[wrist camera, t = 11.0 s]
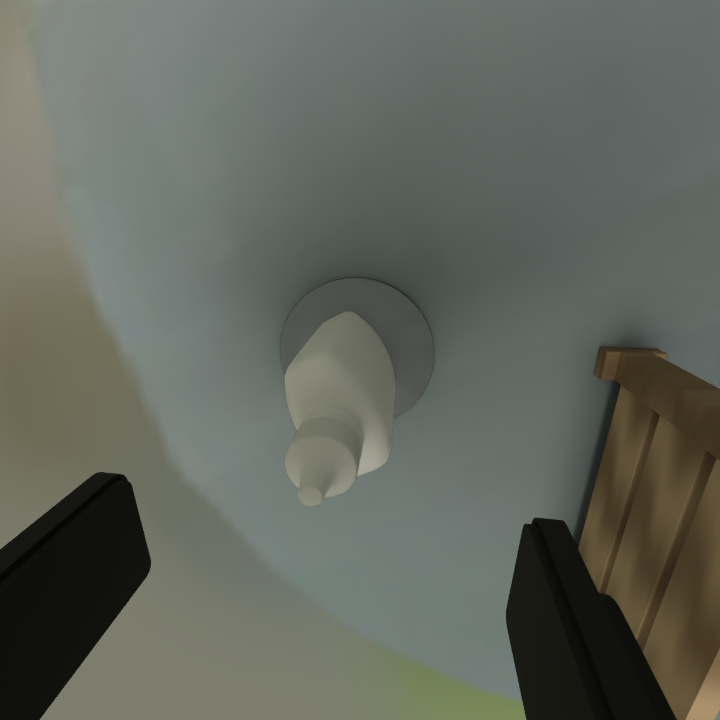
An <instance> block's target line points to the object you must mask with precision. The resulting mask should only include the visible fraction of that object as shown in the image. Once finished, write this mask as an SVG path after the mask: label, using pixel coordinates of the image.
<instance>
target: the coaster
mask: <svg viewBox="0 0 720 720" xmlns="http://www.w3.org/2000/svg"><path fill="white" fill-rule="evenodd" d="M348 311H351V312H353V313H356V314H357V315H359V316H360V317H361V318H362V319H364V320H365V321H366V322H367V323H368V324H369V325H370V326H371V327H372V328H373V330H374V331H375V332H376V333H377V335H378V336H379V337H380V339H381V340H382V342H383V344H384V345H385V347H386V349H387V352H388V354H389V356H390V359H391V362H392V366H393V370H394V376H395V400H394V415H393V418H395V417H397V416H399V415H401V414H402V413H404V412H405V411H407V410H408V409H409V408H410V407H411V406H412V405H414V404H415V403H416V401H417V400H418V399H419V398H420V397H421V395H422V394H423V392H424V391H425V389H426V387H427V385H428V383H429V381H430V378H431V374H432V371H433V365H434V346H433V339H432V336H431V332H430V328H429V326H428V324H427V322H426V319H425V318H424V316H423V314H422V313H421V311H420V310H419V309H418V307H417V306H416V305H415V304H414V302H413V301H411V300H410V299H409V298H408V297H407V296H406V295H405V294H403V293H402V292H401V291H399V290H398V289H396V288H394V287H392V286H390V285H388V284H386V283H383V282H380V281H377V280H373V279H369V278H359V277H353V278H343V279H337V280H334V281H331V282H328V283H325V284H323V285H321V286H319V287H317V288H316V289H314V290H313V291H311V292H310V293H308V294H307V295H306V296H305V297H304V298H303V299H301V300H300V301H299V302H298V304H297V305H296V306H295V307H294V308H293V310H292V311H291V313H290V314H289V316H288V318H287V320H286V322H285V325H284V327H283V331H282V334H281V341H280V358H281V364H282V368H283V372H284V374H286V370H287V368H288V366H289V365H290V364H291V362H292V361H293V359H294V358H295V357H296V356H297V354H298V353H299V352H300V350H301V349H302V348H303V347H304V345H305V344H306V343H307V342H308V340H309V339H310V338H311V337H312V335H313V334H314V333H315V332H316V331H317V329H318V328H319V327H320V326H321V325H322V324H323V323H324V322H326V321H327V320H329V319H331V318H333V317H335V316H337V315H339V314H341V313H343V312H348Z"/></svg>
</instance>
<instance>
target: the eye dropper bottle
mask: <svg viewBox="0 0 720 720" xmlns="http://www.w3.org/2000/svg"><path fill="white" fill-rule="evenodd" d="M285 391H286V398H287V403H288V407H289V411H290V414H291V417H292V420H293V422H294V425H295V427H296V429H297V432H296V434H295V436H294V438H293V440H292V442H291V444H290V445H289V447H288V449H287V452H286V456H285V460H284V461H285V468H286V471H287V474H288V476H289V478H290V480H291V481H292V482H293V483H294V484H295V485H296V486H297V487H298V488H299V499H300V501H301V502H302V503H303V504H305V505H307V506H317V505H319V504H320V503H321V501H322V500H323V498H324V497H331V496H337V495H339V494H341V493H343V492H345V491H346V490H348V489H349V488H350V487H351V485H353V483H354V482H355V479H356V478H357V476H359V475H362V474H365V473H368V472H370V471H373V470H375V469H377V468H379V467H381V466H382V465H383V464H384V463H386V461H387V459H388V457H389V454H390V449H391V440H392V428H393V415H394V400H395V376H394V370H393V366H392V362H391V359H390V356H389V354H388V352H387V349H386V347H385V345H384V344H383V342H382V340H381V339H380V337H379V336H378V335H377V333H376V332H375V331H374V330H373V328H372V327H371V326H370V325H369V324H368V323H367V322H366V321H365V320H364V319H362V318H361V317H360V316H359V315H357V314H356V313H353V312H351V311H348V312H343V313H341V314H339V315H337V316H335V317H333V318H331V319H329V320H327V321H326V322H324V323H323V324H322V325H321V326H320V327H319V328H318V329H317V331H316V332H315V333H314V334H313V335H312V337H311V338H310V339H309V340H308V342H307V343H306V344H305V345H304V347H303V348H302V349H301V350H300V352H299V353H298V354H297V356H296V357H295V358H294V359H293V361H292V362H291V364H290V365H289V366H288V368H287V370H286V374H285Z"/></svg>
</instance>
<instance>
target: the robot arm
mask: <svg viewBox="0 0 720 720" xmlns="http://www.w3.org/2000/svg"><path fill="white" fill-rule="evenodd" d="M150 567H151V559H150V555H149V551H148V547H147V543H146V539H145V535H144V531H143V527H142V524H141V520H140V516H139V512H138V508H137V504H136V500H135V496H134V492H133V488H132V485H131V483H130V482H128V481H127V478H126V477H125V476H124V475H121V474H113V473H104V472H99V473H96V474H94V475H92V476H91V477H90V478H89V479H87V480H86V481H85V482H84V483H82V484H81V485H80V486H79V487H78V488H76V489H75V490H74V491H73V492H71V493H70V494H69V495H68V496H66V497H65V498H64V499H62V500H61V501H60V502H59V503H58V504H56V505H55V506H54V507H53V508H51V509H50V510H49V511H48V512H46V513H45V514H44V515H43V516H41V517H40V518H39V519H38V520H37V521H35V522H34V523H33V524H31V525H30V526H29V527H28V528H26V529H25V530H24V531H23V532H21V533H20V534H19V535H18V536H17V537H15V538H14V539H13V540H12V541H10V542H9V543H8V544H6V545H5V546H4V547H3V548H2V549H0V720H40V718H41V717H42V716H43V714H44V713H45V712H46V710H47V709H48V708H49V706H50V705H51V704H52V702H53V701H54V700H55V698H56V697H57V696H58V694H59V693H60V692H61V690H62V689H63V688H64V686H65V685H66V684H67V682H68V681H69V680H70V678H71V677H72V676H73V674H74V673H75V672H76V670H77V669H78V668H79V666H80V665H81V664H82V662H83V661H84V660H85V658H86V657H87V656H88V654H89V653H90V651H91V650H92V649H93V648H94V646H95V645H96V644H97V642H98V641H99V640H100V638H101V637H102V636H103V634H104V633H105V632H106V630H107V629H108V628H109V626H110V625H111V624H112V622H113V621H114V620H115V618H116V617H117V615H118V614H119V613H120V612H121V610H122V609H123V607H124V606H125V605H126V603H127V602H128V601H129V599H130V598H131V597H132V595H133V594H134V593H135V591H136V590H137V589H138V587H139V586H140V585H141V584H142V582H143V581H144V580H145V578H146V577H147V575H148V573H149V571H150ZM506 623H507V630H508V634H509V639H510V644H511V649H512V653H513V658H514V663H515V668H516V672H517V677H518V682H519V687H520V691H521V696H522V701H523V705H524V710H525V714H526V719H527V720H677V719H676V717H675V715H674V713H673V711H672V709H671V707H670V705H669V703H668V701H667V699H666V697H665V695H664V693H663V691H662V689H661V687H660V685H659V683H658V681H657V679H656V678H655V676H654V674H653V672H652V670H651V668H650V666H649V664H648V662H647V660H646V658H645V656H644V654H643V652H642V650H641V648H640V646H639V644H638V642H637V640H636V638H635V636H634V634H633V632H632V630H631V628H630V626H629V624H628V622H627V620H626V618H625V616H624V614H623V613H622V611H621V609H620V607H619V605H618V604H617V602H616V601H615V600H614V599H613V598H612V597H611V596H610V595H607V594H602V593H599V592H598V590H597V588H596V586H595V584H594V582H593V580H592V578H591V575H590V573H589V571H588V569H587V567H586V565H585V563H584V561H583V559H582V556H581V554H580V552H579V550H578V548H577V546H576V544H575V542H574V539H573V537H572V535H571V533H570V531H569V529H568V527H567V525H566V523H565V522H564V521H563V520H554V519H544V518H534V519H533V521H532V524H524V526H523V530H522V535H521V539H520V544H519V549H518V554H517V559H516V564H515V569H514V574H513V579H512V584H511V589H510V594H509V599H508V604H507V609H506Z"/></svg>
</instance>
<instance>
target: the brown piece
mask: <svg viewBox="0 0 720 720" xmlns="http://www.w3.org/2000/svg"><path fill="white" fill-rule="evenodd" d="M667 355H668V354H667V353H665V352H663V351H661V350H659V349H637V348H610V347H600V350H599V354H598V358H597V363H596V367H595V371H594V375H596V376H597V377H598V378H599V379H601V380H615V381H616V382H617V383H619V384H620V385H621V388H620V391H619V395H618V399H617V403H616V407H615V411H614V414H613V418H612V422H611V426H610V430H609V433H608V437H607V441H606V445H605V449H604V452H603V456H602V460H601V464H600V468H599V472H598V475H597V479H596V483H595V487H594V491H593V494H592V498H591V502H590V506H589V510H588V513H587V517H586V521H585V525H584V529H583V533H582V536H581V540H580V544H579V548H578V550H579V552H580V554H581V556H582V559H583V561H584V563H585V565H586V567H587V569H588V571H589V573H590V575H591V578H592V580H593V582H594V584H595V586H596V588H597V590H598V592H599V593H602V594H607V595H610V596H611V597H612V598H613V599H614V600H615V601H616V602H617V604H618V605H619V607H620V609H621V611H622V613H623V614H624V616H625V618H626V620H627V622H628V624H629V626H630V628H631V630H632V632H633V634H634V636H635V638H636V640H637V642H638V644H639V646H640V648H641V650H642V652H643V654H644V656H645V658H646V660H647V662H648V664H649V666H650V668H651V670H652V672H653V674H654V676H655V678H656V679H657V681H658V683H659V685H660V687H661V689H662V691H663V693H664V695H665V697H666V699H667V701H668V703H669V705H670V707H671V709H672V711H673V713H674V715H675V717H676V719H677V720H714V719H715V717H716V716H717V714H718V712H719V710H720V389H719V388H717V387H715V386H713V385H711V384H709V383H707V382H706V381H704V380H702V379H700V378H698V377H696V376H694V375H693V374H691V373H689V372H687V371H685V370H683V369H681V368H680V367H678V366H676V365H674V364H672V363H670V362H668V361H666V359H667Z"/></svg>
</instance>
